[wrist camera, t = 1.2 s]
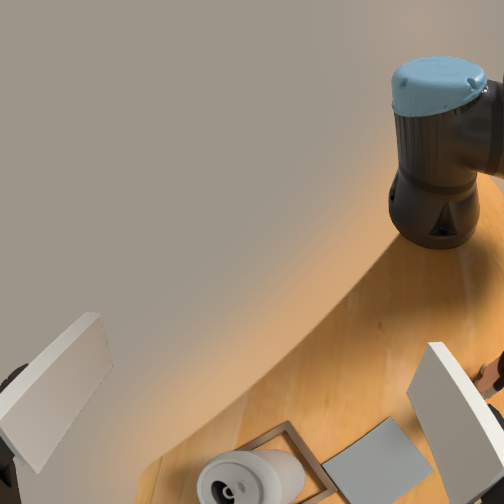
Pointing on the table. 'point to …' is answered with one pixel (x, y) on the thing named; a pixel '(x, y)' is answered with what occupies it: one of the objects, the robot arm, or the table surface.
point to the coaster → (379, 466)
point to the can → (251, 478)
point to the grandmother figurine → (491, 378)
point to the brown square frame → (306, 453)
